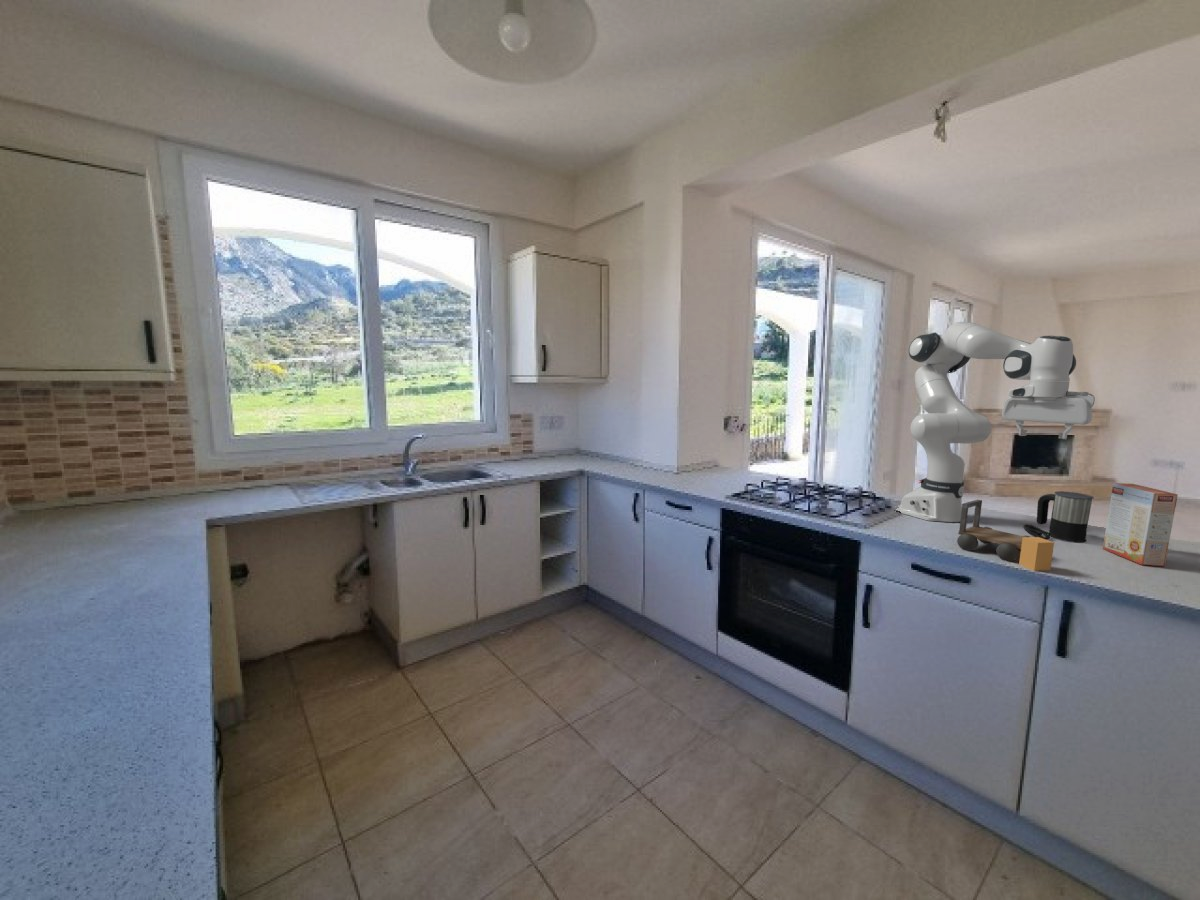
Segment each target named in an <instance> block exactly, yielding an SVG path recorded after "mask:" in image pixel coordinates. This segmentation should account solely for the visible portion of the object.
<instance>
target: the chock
mask: <svg viewBox="0 0 1200 900" xmlns="http://www.w3.org/2000/svg"><path fill="white" fill-rule="evenodd" d="M1054 547H1055V542H1054V541H1051V540H1049V539H1048V540H1046V539H1043V538H1040V537H1034V536H1030V537H1023V538H1022V546H1021V552H1020V555H1019V562H1018V563H1019V564H1018V566H1021V565H1022V566H1021V567H1023V566H1024V568H1026V569H1029V570H1030V569H1031V571H1032V572H1040V571H1039V570H1050V571H1051V566H1052V563H1053V562H1052V561H1053V553H1054Z"/></svg>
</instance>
